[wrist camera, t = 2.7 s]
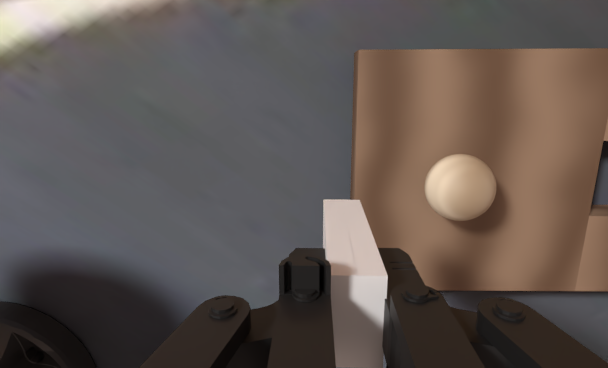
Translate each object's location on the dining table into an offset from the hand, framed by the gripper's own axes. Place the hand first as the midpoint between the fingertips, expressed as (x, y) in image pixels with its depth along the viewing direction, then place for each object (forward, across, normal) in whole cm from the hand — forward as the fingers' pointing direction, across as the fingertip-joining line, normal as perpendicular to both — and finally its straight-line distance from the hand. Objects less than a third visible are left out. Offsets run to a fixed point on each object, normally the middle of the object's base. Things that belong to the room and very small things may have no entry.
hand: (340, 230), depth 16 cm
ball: (+7, +8, 0) cm, 11 cm away
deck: (+12, +13, 0) cm, 18 cm away
